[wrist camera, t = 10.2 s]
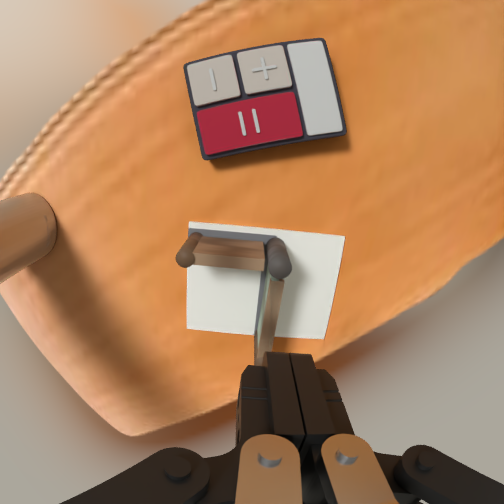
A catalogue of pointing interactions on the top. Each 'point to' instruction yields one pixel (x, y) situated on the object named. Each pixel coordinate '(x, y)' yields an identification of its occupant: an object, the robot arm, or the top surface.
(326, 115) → the calculator
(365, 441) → the robot arm
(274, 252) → the fence fixed section
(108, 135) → the top surface
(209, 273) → the card
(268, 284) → the panel
